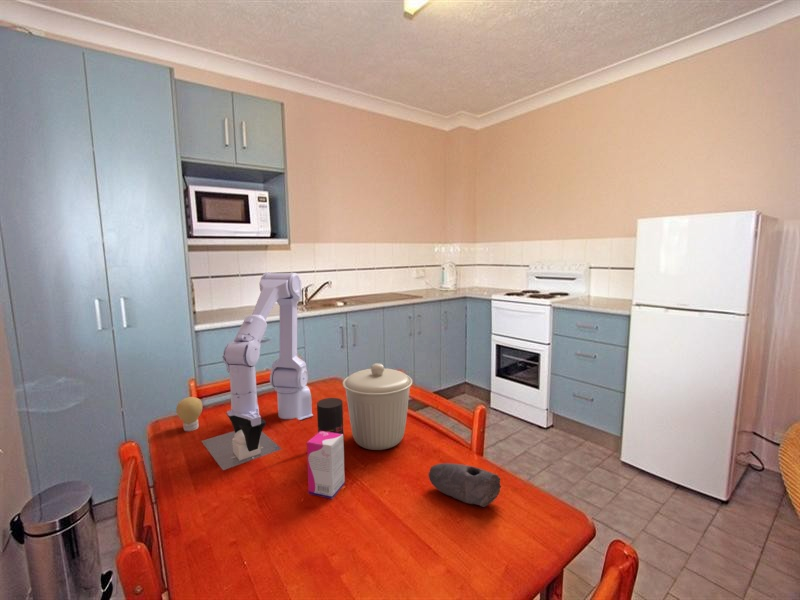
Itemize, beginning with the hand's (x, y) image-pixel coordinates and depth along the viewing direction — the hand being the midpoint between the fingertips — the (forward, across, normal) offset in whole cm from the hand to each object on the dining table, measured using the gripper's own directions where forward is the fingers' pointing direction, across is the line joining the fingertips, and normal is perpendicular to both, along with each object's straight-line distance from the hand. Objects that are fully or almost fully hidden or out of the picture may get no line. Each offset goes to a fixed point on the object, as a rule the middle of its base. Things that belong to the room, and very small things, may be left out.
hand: (247, 443), depth 95 cm
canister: (+4, +15, +29) cm, 33 cm away
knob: (+2, 0, 0) cm, 2 cm away
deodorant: (+4, +16, +14) cm, 22 cm away
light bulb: (+4, -24, -7) cm, 25 cm away
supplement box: (+4, +24, +8) cm, 26 cm away
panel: (+3, -5, 0) cm, 6 cm away
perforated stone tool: (+4, +45, +27) cm, 53 cm away
